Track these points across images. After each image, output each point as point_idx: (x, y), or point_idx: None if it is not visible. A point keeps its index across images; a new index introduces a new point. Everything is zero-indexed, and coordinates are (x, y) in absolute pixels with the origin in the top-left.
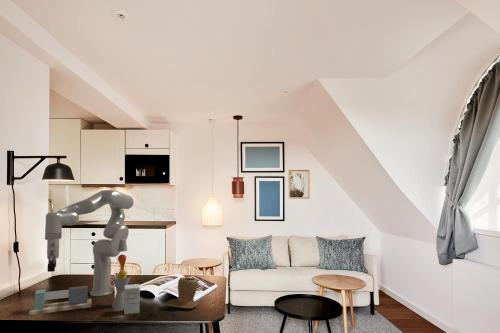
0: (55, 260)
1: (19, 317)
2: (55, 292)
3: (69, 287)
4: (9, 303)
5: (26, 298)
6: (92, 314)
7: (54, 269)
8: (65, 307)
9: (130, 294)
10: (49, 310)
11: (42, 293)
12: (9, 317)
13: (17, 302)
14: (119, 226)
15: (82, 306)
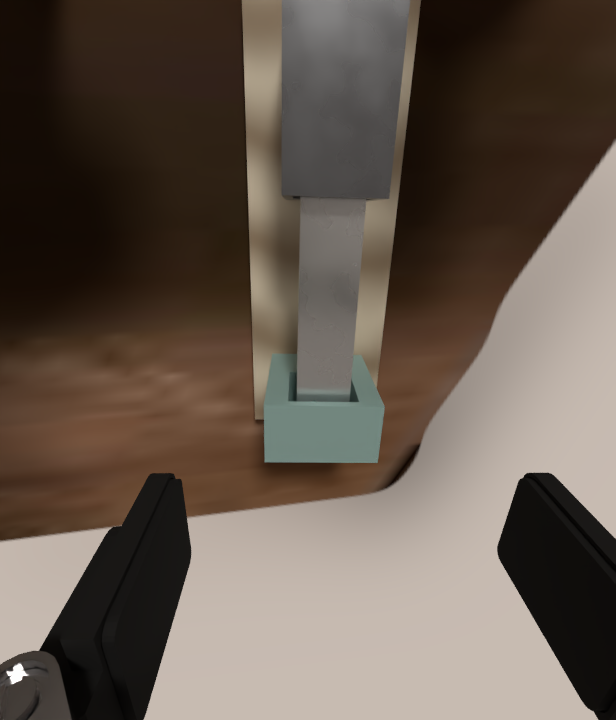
0: (122, 631)
1: (382, 443)
2: (353, 319)
3: (287, 192)
4: (106, 510)
5: (20, 452)
6: (611, 10)
7: (566, 495)
8: (394, 221)
9: None
10: (382, 318)
11: (383, 415)
12: (356, 480)
13: (97, 482)
14: None
15: (408, 85)
